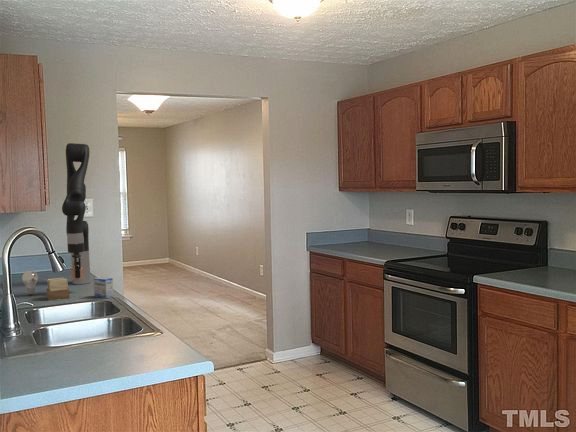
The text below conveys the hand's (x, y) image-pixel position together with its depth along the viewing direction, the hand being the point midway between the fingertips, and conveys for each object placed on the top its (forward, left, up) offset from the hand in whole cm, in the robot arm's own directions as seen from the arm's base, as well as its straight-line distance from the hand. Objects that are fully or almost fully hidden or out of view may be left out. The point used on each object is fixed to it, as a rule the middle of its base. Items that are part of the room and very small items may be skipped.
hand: (77, 276), depth 268 cm
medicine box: (+19, +9, -8) cm, 22 cm away
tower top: (+9, -9, -3) cm, 13 cm away
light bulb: (-6, -21, -8) cm, 23 cm away
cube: (0, 0, -1) cm, 1 cm away
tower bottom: (+9, -9, -8) cm, 15 cm away
